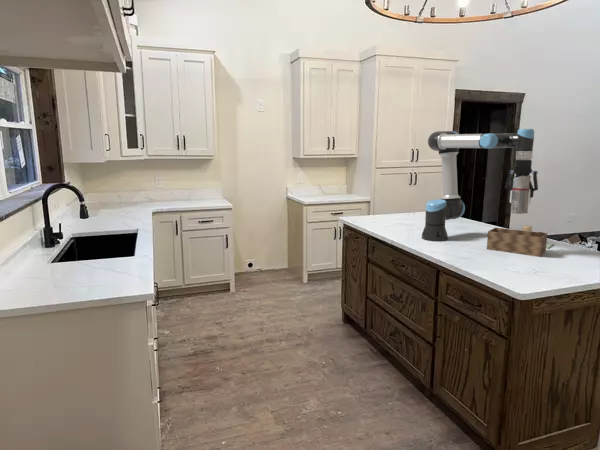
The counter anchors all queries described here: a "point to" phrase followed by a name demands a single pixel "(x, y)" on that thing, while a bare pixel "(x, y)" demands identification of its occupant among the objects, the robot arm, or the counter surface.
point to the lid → (529, 228)
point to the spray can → (520, 194)
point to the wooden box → (517, 241)
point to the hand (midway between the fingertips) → (519, 203)
